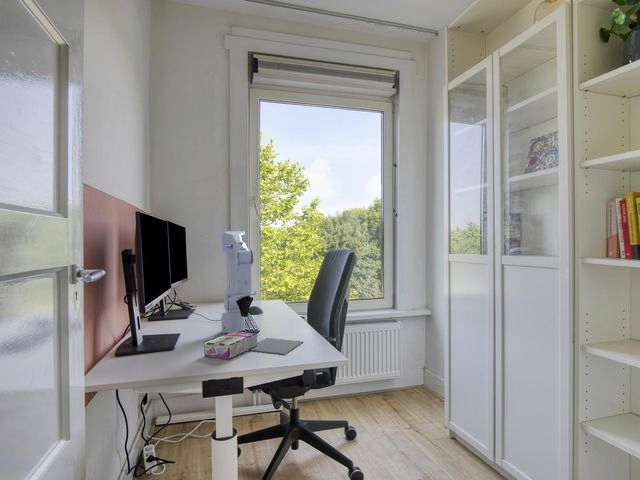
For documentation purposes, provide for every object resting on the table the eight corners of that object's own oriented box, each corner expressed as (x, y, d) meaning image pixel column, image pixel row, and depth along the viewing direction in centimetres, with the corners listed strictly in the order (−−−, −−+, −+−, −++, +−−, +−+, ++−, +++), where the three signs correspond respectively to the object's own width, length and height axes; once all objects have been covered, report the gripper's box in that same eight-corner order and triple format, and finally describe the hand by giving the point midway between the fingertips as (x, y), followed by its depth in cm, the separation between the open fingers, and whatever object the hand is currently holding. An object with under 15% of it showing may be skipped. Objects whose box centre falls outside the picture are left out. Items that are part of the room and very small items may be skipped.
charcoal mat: (245, 350, 135) (245, 349, 135) (266, 338, 150) (266, 337, 150) (285, 354, 130) (285, 353, 130) (303, 342, 145) (303, 341, 145)
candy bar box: (234, 344, 144) (203, 356, 129) (233, 331, 144) (202, 341, 129) (258, 346, 139) (229, 359, 124) (257, 332, 139) (228, 344, 124)
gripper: (243, 284, 136) (243, 321, 136) (262, 279, 150) (262, 313, 150) (226, 283, 139) (226, 319, 139) (247, 278, 152) (247, 312, 152)
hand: (244, 316), depth 144 cm, fingers closed
